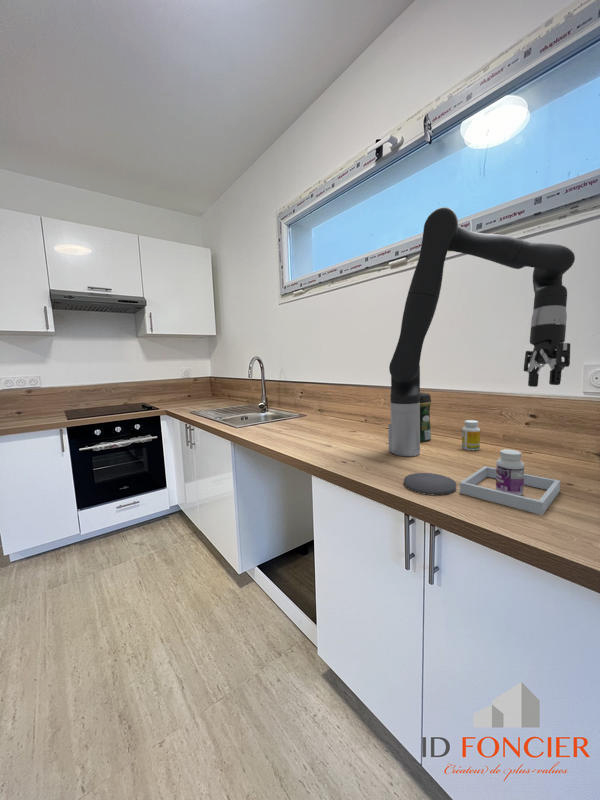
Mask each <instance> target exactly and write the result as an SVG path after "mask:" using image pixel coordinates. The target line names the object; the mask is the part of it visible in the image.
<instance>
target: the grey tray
mask: <svg viewBox="0 0 600 800" xmlns="http://www.w3.org/2000/svg"><path fill="white" fill-rule="evenodd" d="M486 478H492V479H495V480H496V467H493V466H486V465H484V466H483V467H481V468H480V469H478V470H477V471H475V472H474V473H472V474H471V475H469V476H467V477H466V478H465V479H463V480H462V481H460V482H459V494H462V495H466V496H469V497H474V498H477V499H480V500H485V501H488V502H492V503H496V504H500V505H503V506H507V507H511V508H514V509H518V510H521V511H526V512H530V513H533V514H537V515H540V516H543V515H544V514H545V512H546V511H547V509H548V508H549V507H550V505H551V504H552V503H553V501H554V500H555V499H556V498H557V496H558V494H559V493H560V492H561V480H559V479H554V478H548V477H542V476H538V475H534V474H527V473H524V486H527V487H528V486H529V487H533V488H538V489H542V490H546V491H545V492H544V493H543V495H542V496H541V497H540V499H534V498H530V497H527V496H522V495H521V496H519V495H514V494H510V493H506V492H502V491H498V490H496V489H493V488H490V487H489V488H488V487H485V486H482V485H478V484H479V483H481V482H482V481H483V480H484V479H486Z"/></svg>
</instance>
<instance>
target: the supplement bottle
mask: <svg viewBox="0 0 600 800" xmlns="http://www.w3.org/2000/svg"><path fill="white" fill-rule="evenodd" d="M478 426H479V421H477V420H475V419H474V420H473V419H469V420H468V419H467V420H464V426H463V427H462V429H461V449H463V450H465V451H471V450H472V451H473V452H474V450H476V451H479V450H480V447H481V446H480V445H481V429H480V427H478Z"/></svg>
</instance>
